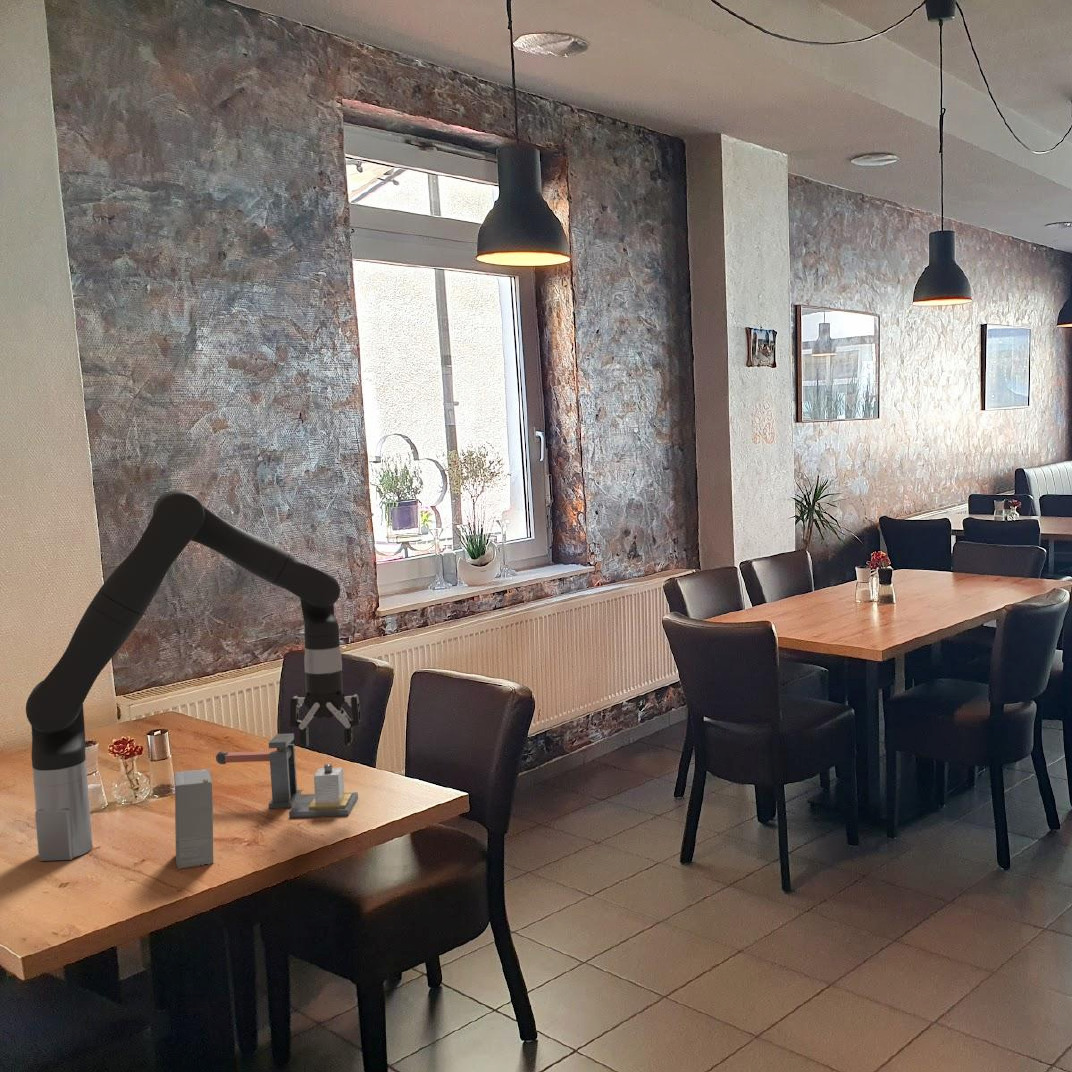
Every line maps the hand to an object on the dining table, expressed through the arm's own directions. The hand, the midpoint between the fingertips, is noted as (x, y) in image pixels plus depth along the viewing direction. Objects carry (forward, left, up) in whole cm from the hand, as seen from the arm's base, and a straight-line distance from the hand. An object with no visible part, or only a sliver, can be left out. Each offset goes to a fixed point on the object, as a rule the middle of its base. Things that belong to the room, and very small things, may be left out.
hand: (326, 745), depth 216 cm
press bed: (+2, +4, -13) cm, 14 cm away
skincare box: (-25, +19, -14) cm, 35 cm away
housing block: (0, 0, -12) cm, 12 cm away
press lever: (+6, +17, -5) cm, 19 cm away
